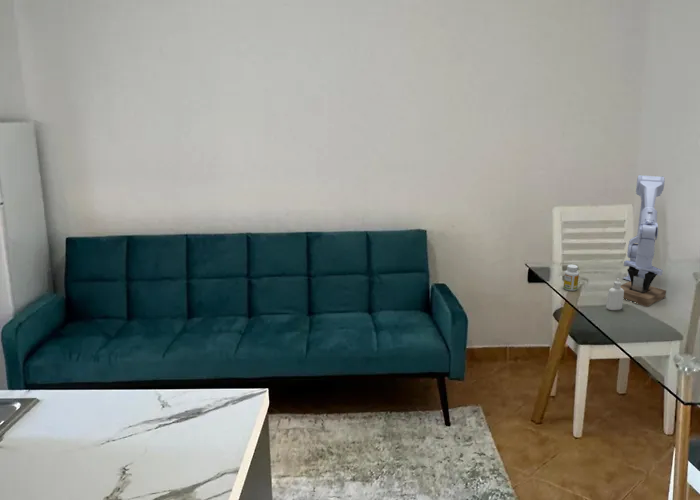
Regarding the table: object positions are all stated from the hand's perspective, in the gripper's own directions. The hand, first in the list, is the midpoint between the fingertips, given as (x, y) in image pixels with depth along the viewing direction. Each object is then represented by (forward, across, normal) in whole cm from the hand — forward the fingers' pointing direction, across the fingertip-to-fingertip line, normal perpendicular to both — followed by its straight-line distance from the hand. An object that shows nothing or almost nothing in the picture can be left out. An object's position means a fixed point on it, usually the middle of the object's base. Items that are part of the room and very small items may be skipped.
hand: (639, 287), depth 251 cm
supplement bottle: (+4, -22, -13) cm, 26 cm away
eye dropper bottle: (+4, 0, -18) cm, 18 cm away
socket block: (+4, 0, 0) cm, 4 cm away
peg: (+3, 0, 0) cm, 3 cm away
